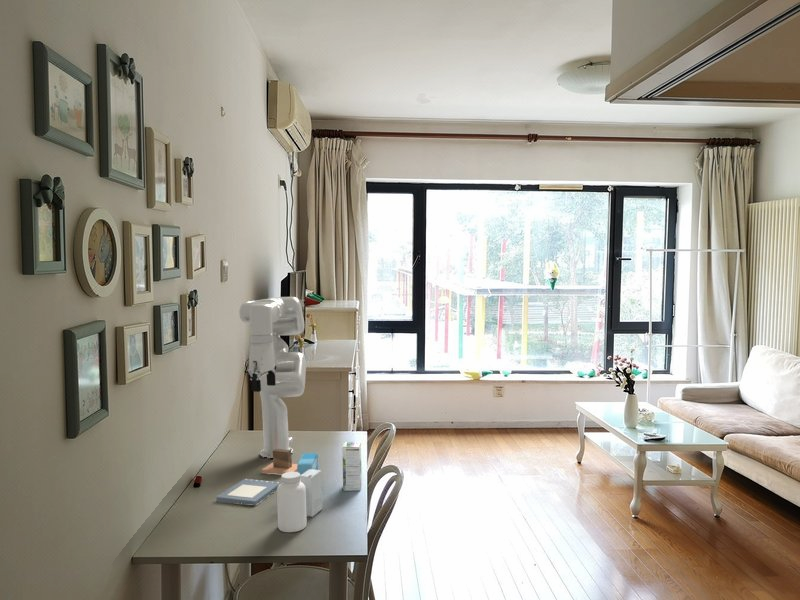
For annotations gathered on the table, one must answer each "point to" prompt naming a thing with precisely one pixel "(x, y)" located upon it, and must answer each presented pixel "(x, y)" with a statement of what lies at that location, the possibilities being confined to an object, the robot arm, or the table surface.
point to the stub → (281, 462)
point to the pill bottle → (291, 503)
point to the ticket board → (248, 492)
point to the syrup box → (352, 466)
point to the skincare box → (312, 491)
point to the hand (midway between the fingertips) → (264, 388)
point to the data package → (307, 462)
